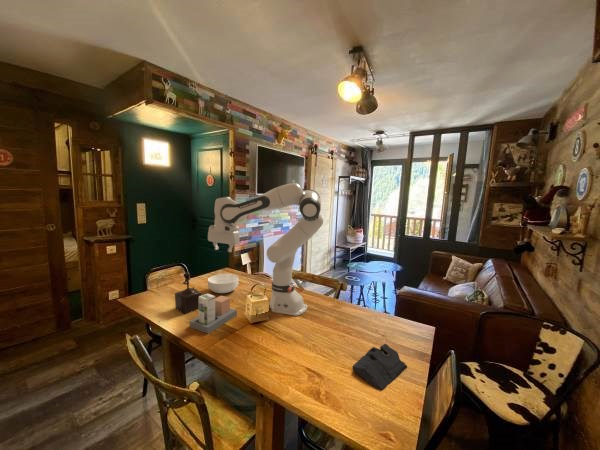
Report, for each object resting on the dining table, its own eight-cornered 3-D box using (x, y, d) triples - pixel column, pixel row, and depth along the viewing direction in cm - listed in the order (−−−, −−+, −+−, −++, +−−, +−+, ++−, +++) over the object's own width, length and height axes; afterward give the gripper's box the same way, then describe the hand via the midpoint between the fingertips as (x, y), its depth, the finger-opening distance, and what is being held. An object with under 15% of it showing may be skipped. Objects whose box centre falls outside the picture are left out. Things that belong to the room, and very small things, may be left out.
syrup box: (198, 324, 120) (197, 296, 118) (208, 319, 124) (208, 292, 123) (205, 328, 116) (205, 299, 115) (215, 323, 121) (215, 295, 120)
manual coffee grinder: (203, 307, 139) (202, 277, 137) (184, 314, 130) (183, 282, 128) (189, 299, 148) (188, 271, 146) (170, 305, 139) (169, 275, 137)
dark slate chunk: (345, 370, 94) (345, 358, 93) (375, 347, 108) (376, 337, 108) (381, 395, 82) (382, 382, 82) (410, 366, 97) (411, 354, 96)
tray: (219, 310, 136) (219, 293, 135) (236, 315, 131) (236, 297, 130) (189, 327, 118) (189, 307, 117) (208, 333, 113) (207, 313, 112)
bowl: (244, 289, 167) (244, 277, 166) (221, 299, 150) (221, 286, 149) (225, 283, 177) (224, 271, 176) (201, 291, 161) (201, 279, 160)
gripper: (204, 225, 136) (205, 249, 138) (233, 228, 127) (233, 254, 129) (213, 224, 142) (213, 247, 143) (241, 227, 133) (241, 252, 135)
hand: (223, 250), depth 136 cm, fingers open, 8 cm apart
